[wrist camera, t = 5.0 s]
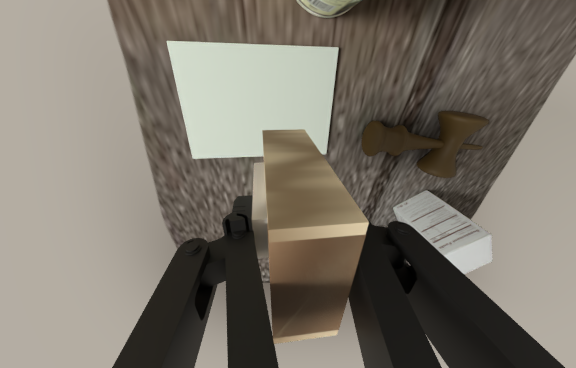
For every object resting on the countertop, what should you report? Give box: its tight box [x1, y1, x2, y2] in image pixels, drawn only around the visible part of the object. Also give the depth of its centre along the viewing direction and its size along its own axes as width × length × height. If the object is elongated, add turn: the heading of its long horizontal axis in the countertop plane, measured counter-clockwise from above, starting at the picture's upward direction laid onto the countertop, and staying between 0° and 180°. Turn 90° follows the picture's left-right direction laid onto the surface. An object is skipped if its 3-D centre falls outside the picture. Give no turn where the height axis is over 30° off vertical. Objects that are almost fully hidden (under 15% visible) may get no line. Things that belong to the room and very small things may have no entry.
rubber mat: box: [167, 41, 339, 159], centre depth 28 cm, size 20×14×1 cm
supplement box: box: [393, 190, 492, 274], centre depth 36 cm, size 7×7×13 cm
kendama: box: [362, 111, 489, 178], centre depth 31 cm, size 6×10×20 cm
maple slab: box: [262, 129, 369, 344], centre depth 12 cm, size 3×7×10 cm, turn 179°
